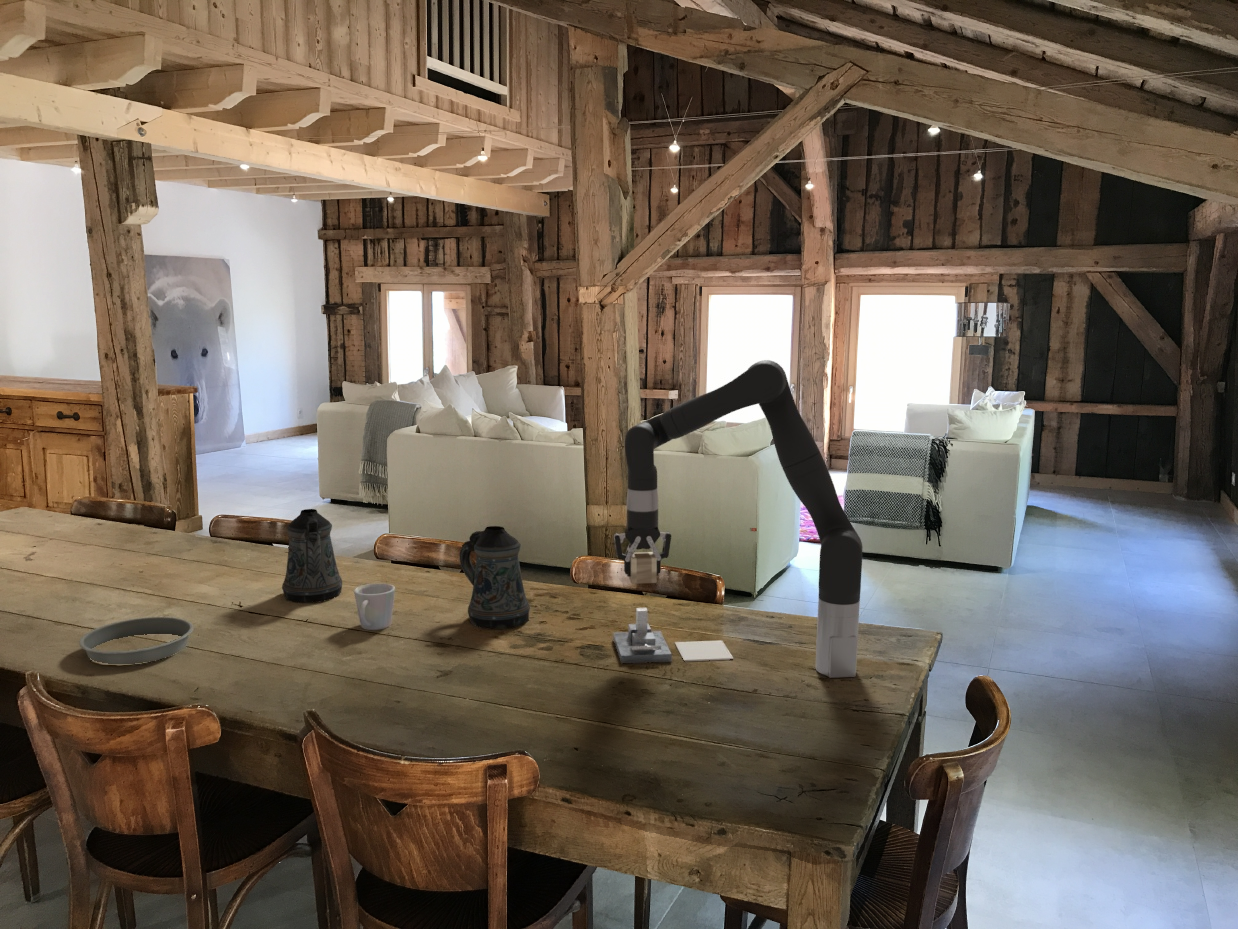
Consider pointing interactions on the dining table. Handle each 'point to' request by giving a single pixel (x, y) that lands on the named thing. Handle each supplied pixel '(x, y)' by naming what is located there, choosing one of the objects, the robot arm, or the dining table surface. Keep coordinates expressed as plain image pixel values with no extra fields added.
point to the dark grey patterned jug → (311, 560)
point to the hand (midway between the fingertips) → (642, 575)
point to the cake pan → (137, 628)
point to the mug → (375, 605)
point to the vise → (641, 642)
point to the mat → (703, 650)
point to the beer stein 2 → (495, 580)
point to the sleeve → (643, 568)
